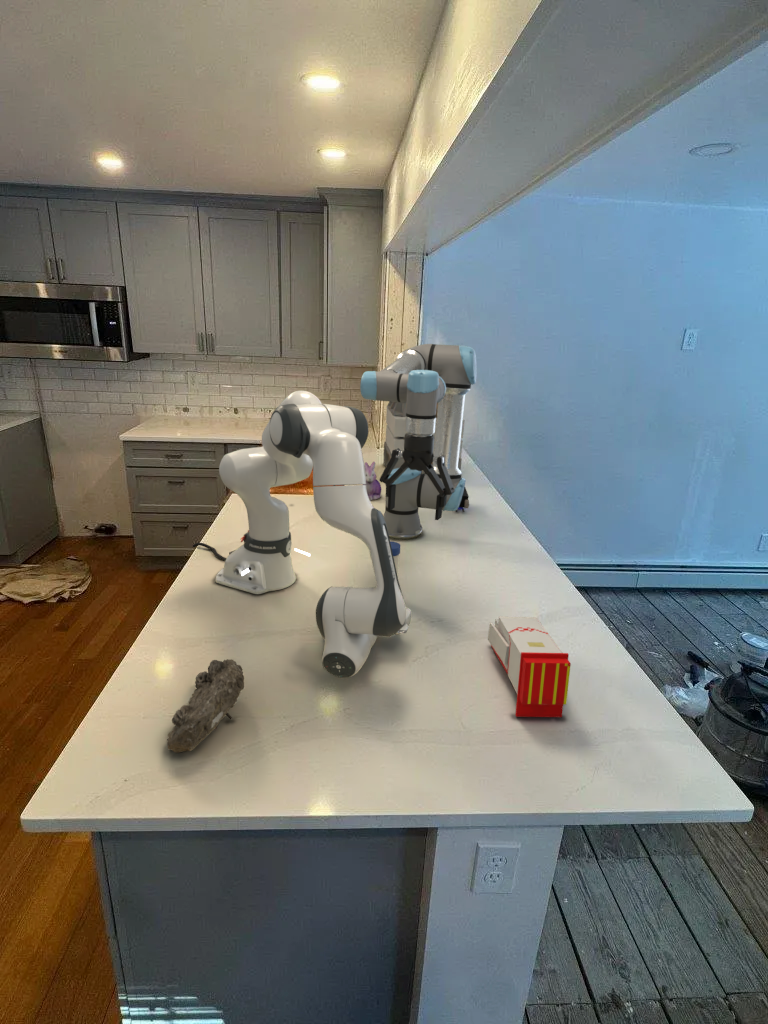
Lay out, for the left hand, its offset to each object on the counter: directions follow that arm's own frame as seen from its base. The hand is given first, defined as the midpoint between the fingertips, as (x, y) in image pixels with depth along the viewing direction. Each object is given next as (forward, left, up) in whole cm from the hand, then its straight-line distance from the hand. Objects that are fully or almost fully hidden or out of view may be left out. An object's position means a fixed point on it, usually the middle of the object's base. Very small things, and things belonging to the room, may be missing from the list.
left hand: (376, 598), depth 141 cm
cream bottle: (0, +13, -6) cm, 14 cm away
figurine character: (+9, +95, -6) cm, 96 cm away
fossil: (-21, -44, -6) cm, 49 cm away
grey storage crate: (-15, +140, -6) cm, 141 cm away
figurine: (-27, +95, -6) cm, 99 cm away
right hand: (+5, +16, +18) cm, 25 cm away
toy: (+36, -12, -6) cm, 39 cm away
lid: (0, +13, +9) cm, 16 cm away
